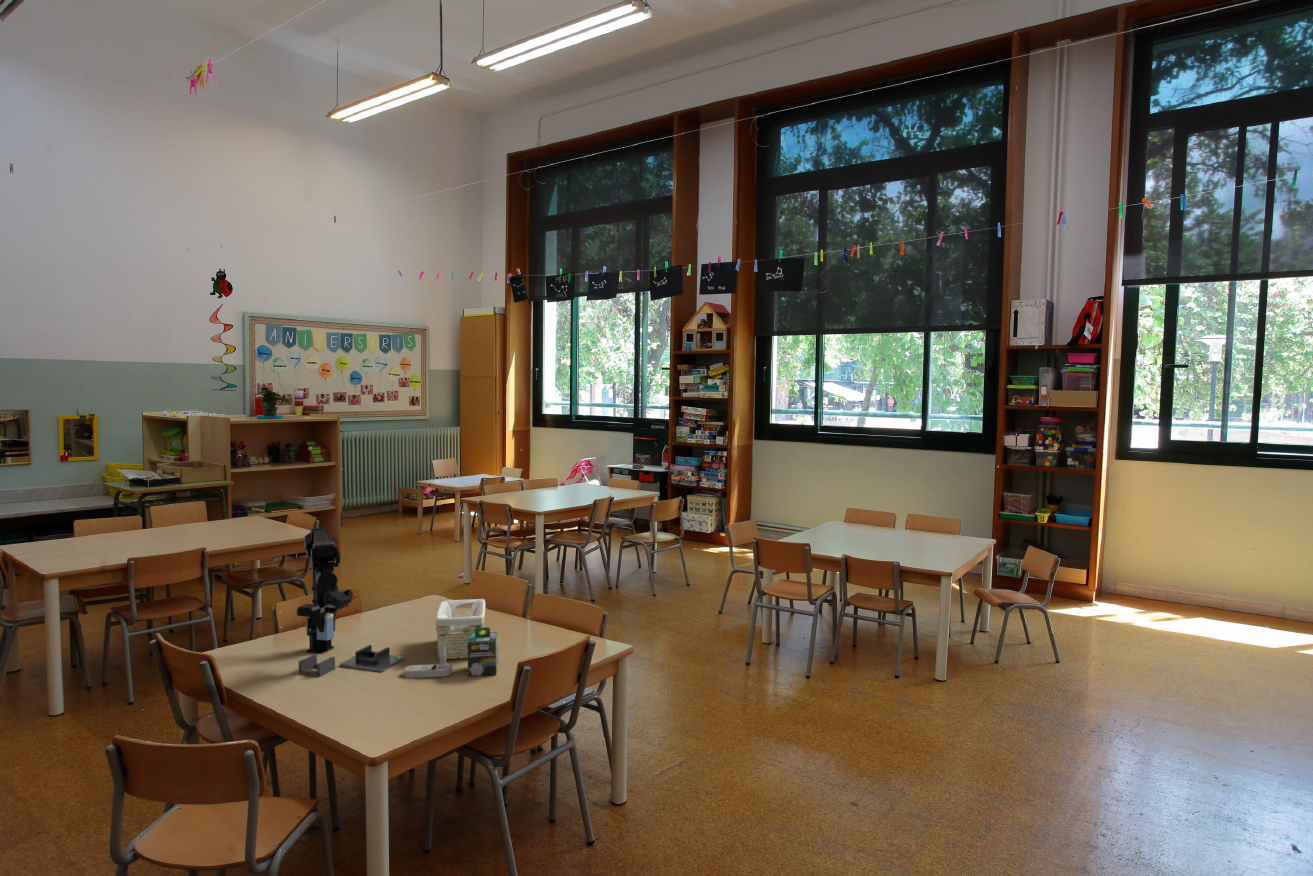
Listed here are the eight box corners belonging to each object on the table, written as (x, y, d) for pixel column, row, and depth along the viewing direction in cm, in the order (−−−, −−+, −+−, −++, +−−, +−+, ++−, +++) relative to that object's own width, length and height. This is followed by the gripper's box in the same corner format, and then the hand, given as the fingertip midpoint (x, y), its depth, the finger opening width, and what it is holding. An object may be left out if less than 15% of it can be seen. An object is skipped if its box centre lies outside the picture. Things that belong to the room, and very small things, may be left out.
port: (340, 666, 253) (340, 653, 253) (363, 654, 264) (363, 641, 264) (382, 672, 248) (382, 658, 248) (404, 659, 260) (404, 646, 260)
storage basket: (440, 639, 282) (440, 599, 281) (486, 637, 285) (486, 597, 284) (434, 662, 258) (434, 618, 257) (484, 659, 261) (484, 616, 260)
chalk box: (498, 665, 256) (498, 621, 255) (496, 675, 247) (496, 630, 246) (469, 666, 254) (469, 622, 253) (467, 677, 245) (467, 631, 244)
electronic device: (405, 643, 249) (452, 642, 249) (407, 673, 249) (453, 671, 250) (400, 649, 243) (448, 647, 244) (402, 679, 244) (450, 678, 245)
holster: (298, 673, 246) (298, 661, 246) (314, 666, 253) (314, 654, 253) (320, 676, 244) (319, 664, 244) (335, 669, 251) (334, 657, 250)
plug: (316, 639, 248) (316, 614, 247) (323, 636, 251) (323, 612, 250) (327, 640, 247) (326, 616, 246) (333, 637, 250) (333, 613, 249)
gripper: (324, 592, 236) (325, 642, 237) (364, 578, 254) (365, 625, 255) (295, 589, 240) (295, 638, 241) (336, 575, 257) (337, 621, 258)
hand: (325, 630), depth 249 cm, fingers closed on plug, 3 cm apart
